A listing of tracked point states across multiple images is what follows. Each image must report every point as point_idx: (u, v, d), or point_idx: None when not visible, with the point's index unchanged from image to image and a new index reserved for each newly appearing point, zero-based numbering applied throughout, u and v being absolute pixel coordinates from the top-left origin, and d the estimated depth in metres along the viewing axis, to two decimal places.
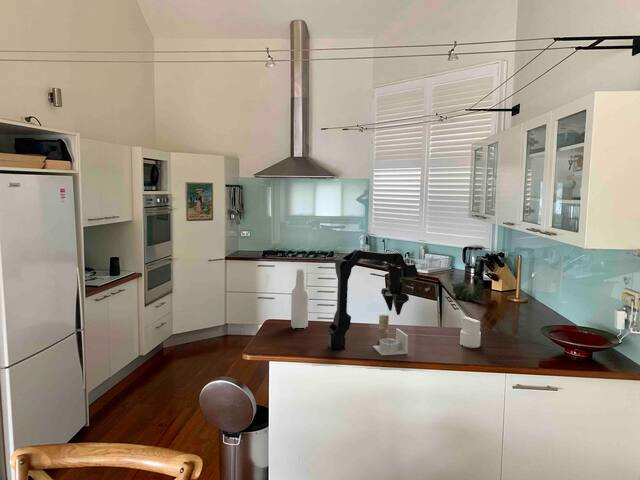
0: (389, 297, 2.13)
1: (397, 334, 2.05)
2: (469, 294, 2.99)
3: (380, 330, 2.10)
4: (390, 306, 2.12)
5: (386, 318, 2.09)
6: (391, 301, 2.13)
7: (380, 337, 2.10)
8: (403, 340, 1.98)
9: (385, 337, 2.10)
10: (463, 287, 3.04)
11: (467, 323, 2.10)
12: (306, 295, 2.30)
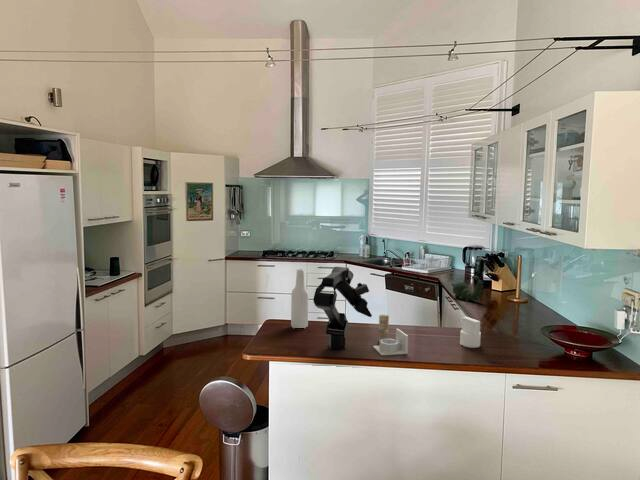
0: None
1: (397, 334, 2.05)
2: (469, 294, 2.99)
3: (380, 330, 2.10)
4: None
5: (386, 318, 2.09)
6: None
7: (380, 337, 2.10)
8: (403, 340, 1.98)
9: (385, 337, 2.10)
10: (463, 287, 3.04)
11: (467, 323, 2.10)
12: (306, 295, 2.30)
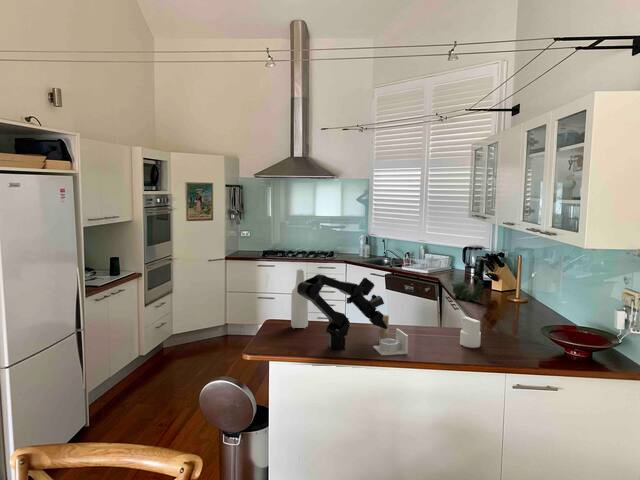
0: None
1: (397, 334, 2.05)
2: (469, 294, 2.99)
3: (380, 330, 2.10)
4: None
5: (386, 318, 2.09)
6: None
7: (380, 337, 2.10)
8: (403, 340, 1.98)
9: (385, 337, 2.10)
10: (463, 287, 3.04)
11: (467, 323, 2.10)
12: None
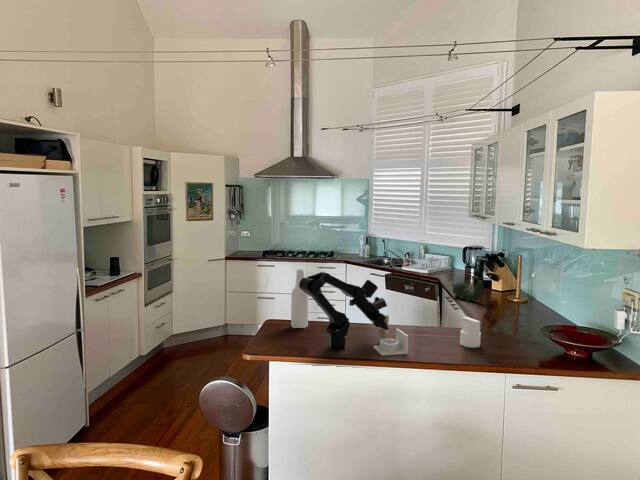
0: None
1: (397, 334, 2.05)
2: (469, 294, 2.99)
3: (380, 330, 2.10)
4: None
5: (386, 318, 2.09)
6: None
7: (380, 337, 2.10)
8: (403, 340, 1.98)
9: (385, 337, 2.10)
10: (463, 287, 3.04)
11: (467, 323, 2.10)
12: (306, 295, 2.30)
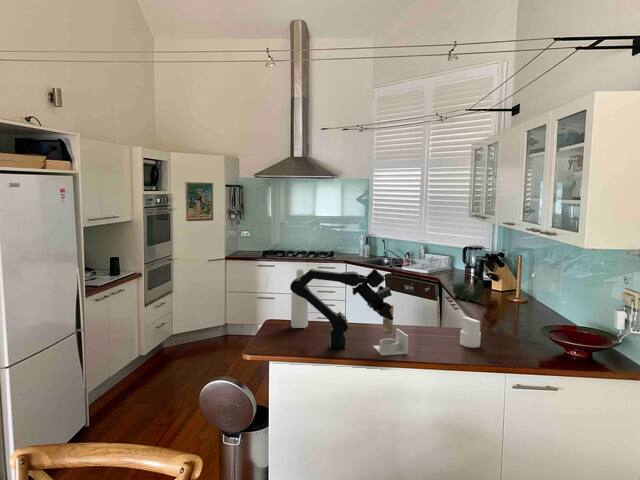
0: None
1: (397, 334, 2.05)
2: (469, 294, 2.99)
3: (384, 320, 2.02)
4: None
5: (391, 308, 2.01)
6: None
7: (384, 328, 2.02)
8: (403, 340, 1.98)
9: (390, 327, 2.01)
10: (463, 287, 3.04)
11: (467, 323, 2.10)
12: None
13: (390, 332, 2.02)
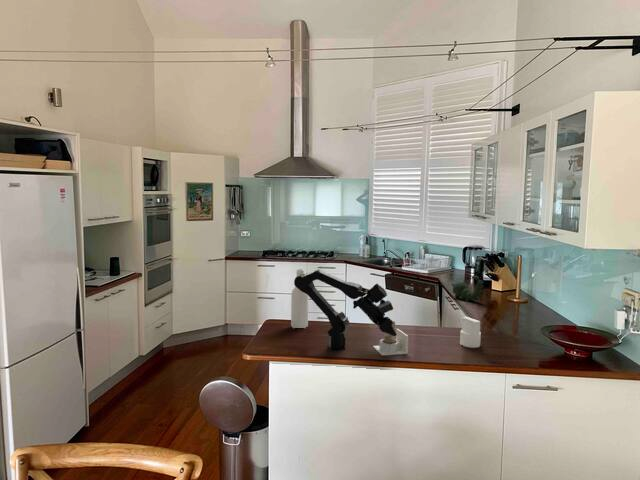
0: (379, 320, 2.03)
1: (397, 334, 2.05)
2: (469, 294, 2.99)
3: (386, 337, 1.98)
4: None
5: (392, 324, 1.97)
6: None
7: None
8: (403, 340, 1.98)
9: None
10: (463, 287, 3.04)
11: (467, 323, 2.10)
12: (306, 295, 2.30)
13: None
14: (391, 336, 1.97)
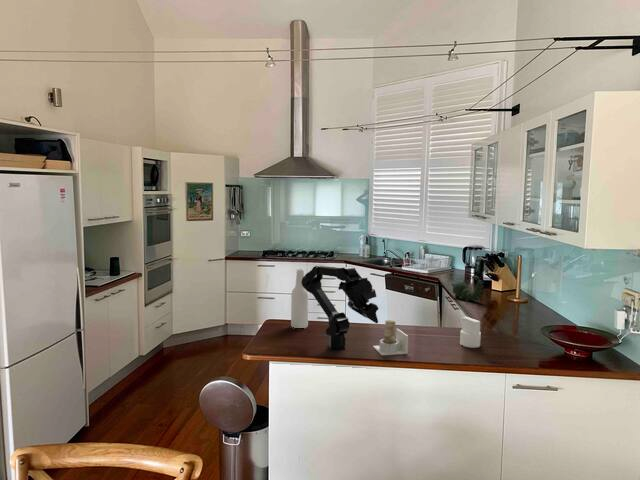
0: None
1: (397, 334, 2.05)
2: (469, 294, 2.99)
3: (386, 337, 1.98)
4: None
5: (393, 324, 1.97)
6: (363, 309, 2.03)
7: None
8: (403, 340, 1.98)
9: None
10: (463, 287, 3.04)
11: (467, 323, 2.10)
12: (306, 295, 2.30)
13: None
14: (391, 336, 1.97)
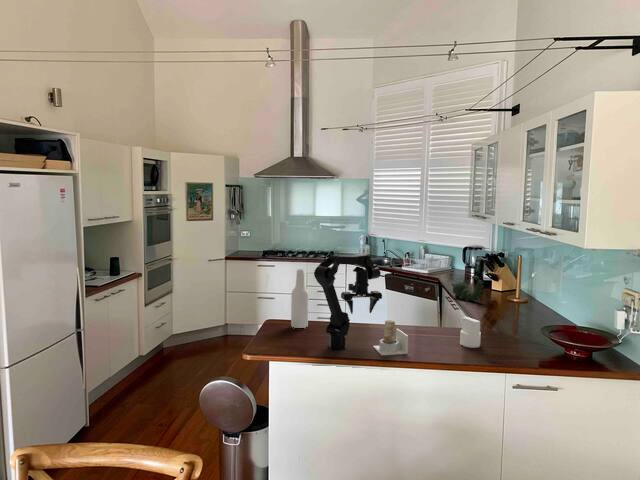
0: None
1: (397, 334, 2.05)
2: (469, 294, 2.99)
3: (386, 337, 1.98)
4: None
5: (392, 324, 1.97)
6: None
7: None
8: (403, 340, 1.98)
9: None
10: (463, 287, 3.04)
11: (467, 323, 2.10)
12: (306, 295, 2.30)
13: None
14: (391, 336, 1.97)
